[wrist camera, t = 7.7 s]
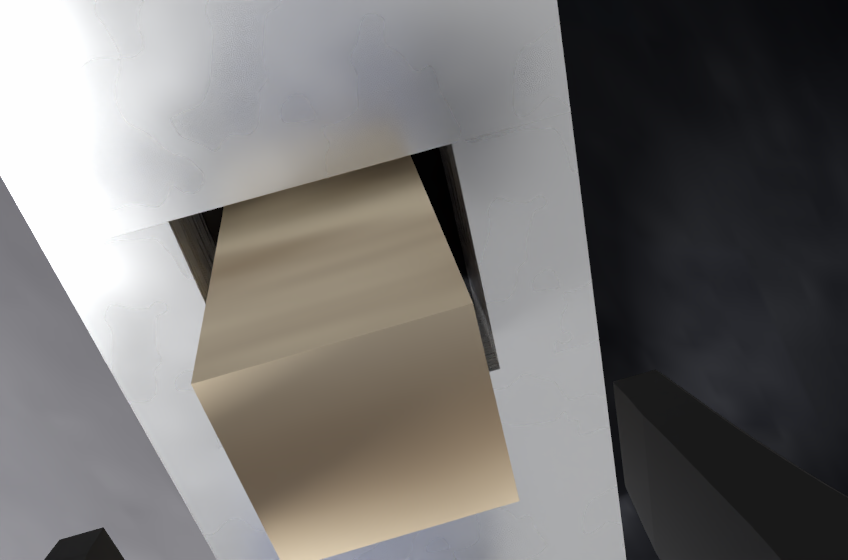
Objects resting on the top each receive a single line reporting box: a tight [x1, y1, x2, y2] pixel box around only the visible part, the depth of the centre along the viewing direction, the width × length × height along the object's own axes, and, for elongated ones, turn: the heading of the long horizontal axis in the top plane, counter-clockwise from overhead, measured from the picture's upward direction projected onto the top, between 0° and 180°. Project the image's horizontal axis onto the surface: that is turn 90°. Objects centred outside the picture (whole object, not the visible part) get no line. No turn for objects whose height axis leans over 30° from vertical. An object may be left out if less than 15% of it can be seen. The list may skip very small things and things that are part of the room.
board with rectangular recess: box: [0, 0, 626, 560], centre depth 17 cm, size 18×10×2 cm, turn 13°
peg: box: [191, 155, 519, 560], centre depth 14 cm, size 4×4×7 cm
